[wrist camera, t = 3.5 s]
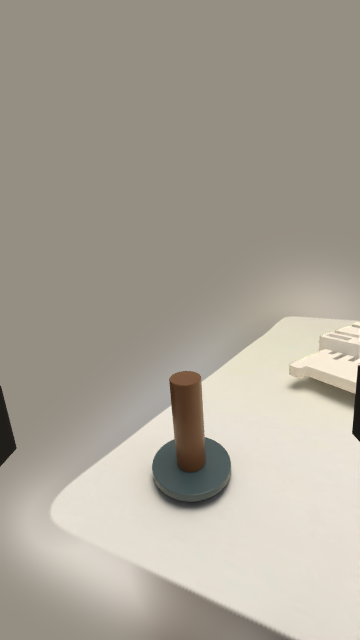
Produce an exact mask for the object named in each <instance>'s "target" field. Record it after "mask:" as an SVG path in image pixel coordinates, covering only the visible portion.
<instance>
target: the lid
mask: <svg viewBox="0 0 360 640" xmlns="http://www.w3.org/2000/svg"><path fill="white" fill-rule="evenodd" d="M169 380H170V391H171V403H172V415H173V426H174V437H175V439H174V440H172V441H170V442H168V443H167V444H165V445H164V446H163V447H162V448H161V449H160V450H159V451H158V452H157V454H156V455H155V457H154V460H153V466H152V469H153V477H154V480H155V483H156V484H157V486H158V487H159V489H160V490H161V491H162V492H163V493H165V494H166V495H168V496H169V497H171V498H174V499H177V500H181V501H187V502H194V501H201V500H205V499H208V498H210V497H212V496H214V495H216V494H217V493H219V492H220V491H221V490H222V489H223V488H224V487H225V486H226V484H227V482H228V481H229V478H230V474H231V462H230V457H229V455H228V453H227V451H226V450H225V449H224V448H223V447H222V446H221V445H220V444H219V443H217V442H216V441H214V440H212V439H209V438H206V437H204V420H203V402H202V385H201V376H200V375H199V374H198V373H195V372H191V371H183V372H178V373H175V374H173V375H172V376H171V377H170V379H169Z"/></svg>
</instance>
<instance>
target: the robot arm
mask: <svg viewBox="0 0 360 640" xmlns="http://www.w3.org/2000/svg"><path fill="white" fill-rule="evenodd" d="M352 434H353V435H354V436H355V437H356V438H357V439H358V440H359V441H360V365H358V370H357V382H356V394H355V406H354V418H353V430H352ZM15 450H16V444H15V440H14V436H13V432H12V428H11V425H10V420H9V417H8V412H7V408H6V404H5V401H4V397H3V393H2V389H1V386H0V466H1V465H2V464H3V463H4V462H5V461H6V459H7V458H8V457H9V456H10V455H11V454H12V453H13V452H14V451H15Z"/></svg>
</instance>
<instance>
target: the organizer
mask: <svg viewBox="0 0 360 640" xmlns="http://www.w3.org/2000/svg"><path fill="white" fill-rule="evenodd" d="M358 365H360V322H357V323H354V324H352V327H351V326H346V327H343V328H340V329H338V330H335V333H331V332H329V333H327V334H324V335H321V336H320V341H319V352H316V353H314V354H312V355H309V356H307V357H304V358H302V359H300V360H297V361H295V362H292V363H290V368H289V374H290V375H291V376H294V377H297V378H301V377H304V376H309V377H311V378H314V379H317V380H319V381H322V382H325V383H327V384H330V385H333V386H336V387H338V388H341V389H344V390H346V391H349V392H352V393H354V394H356V382H357V370H358Z"/></svg>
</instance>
